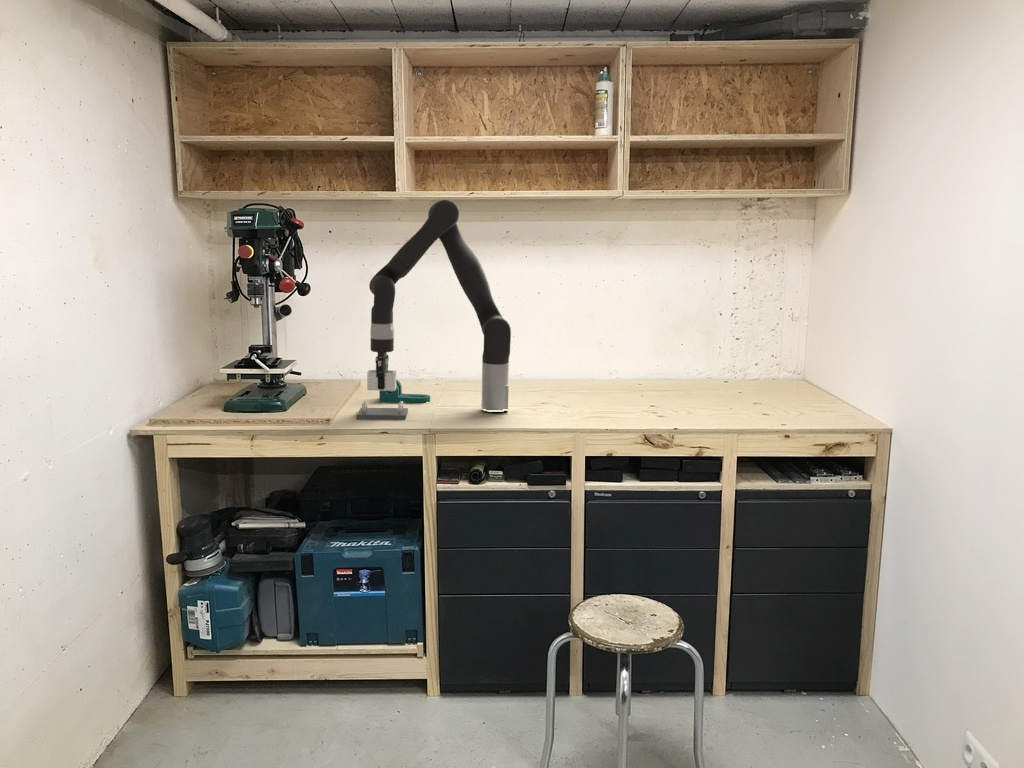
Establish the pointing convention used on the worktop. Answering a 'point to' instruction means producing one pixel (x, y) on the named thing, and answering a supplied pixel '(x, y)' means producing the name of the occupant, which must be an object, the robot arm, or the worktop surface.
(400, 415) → the grey wall plate
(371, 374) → the block
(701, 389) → the worktop surface
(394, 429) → the worktop surface
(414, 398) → the bracket
